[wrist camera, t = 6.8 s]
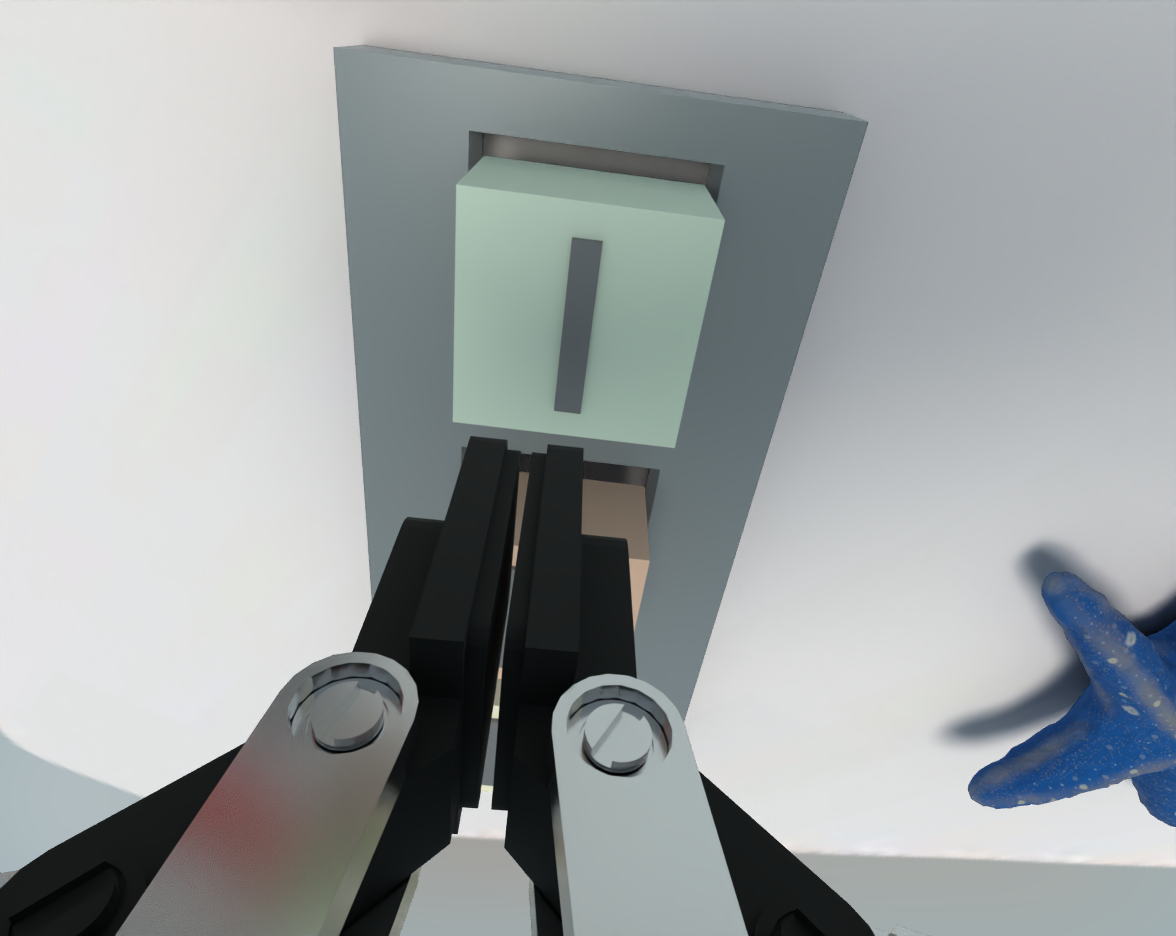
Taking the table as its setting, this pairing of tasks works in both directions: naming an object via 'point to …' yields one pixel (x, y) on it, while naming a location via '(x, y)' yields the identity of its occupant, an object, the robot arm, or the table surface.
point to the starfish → (1098, 714)
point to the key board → (728, 334)
